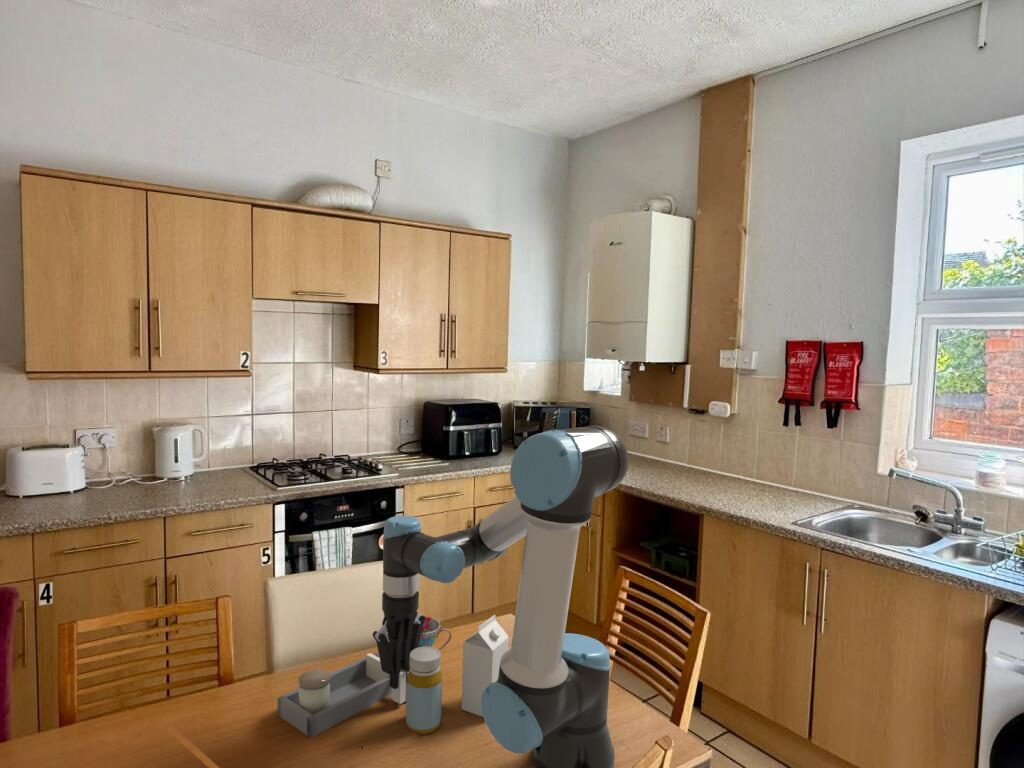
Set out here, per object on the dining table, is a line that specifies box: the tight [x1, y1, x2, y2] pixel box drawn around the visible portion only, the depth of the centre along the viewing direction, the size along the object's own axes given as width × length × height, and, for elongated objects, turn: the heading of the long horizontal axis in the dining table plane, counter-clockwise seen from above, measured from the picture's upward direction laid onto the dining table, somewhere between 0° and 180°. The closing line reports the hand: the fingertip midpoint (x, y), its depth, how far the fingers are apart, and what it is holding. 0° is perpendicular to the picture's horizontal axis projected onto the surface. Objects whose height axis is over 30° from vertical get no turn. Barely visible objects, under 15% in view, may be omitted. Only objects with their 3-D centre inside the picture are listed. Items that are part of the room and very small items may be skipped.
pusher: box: [365, 652, 407, 703], centre depth 141 cm, size 15×3×5 cm, turn 52°
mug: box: [408, 616, 452, 672], centre depth 152 cm, size 12×9×11 cm
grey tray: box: [277, 652, 392, 739], centre depth 136 cm, size 11×25×4 cm, turn 142°
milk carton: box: [461, 614, 510, 718], centre depth 136 cm, size 7×7×19 cm
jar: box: [297, 669, 331, 715], centre depth 130 cm, size 6×6×8 cm
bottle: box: [405, 646, 443, 735], centre depth 129 cm, size 7×7×15 cm
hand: (398, 700), depth 135 cm, fingers closed
